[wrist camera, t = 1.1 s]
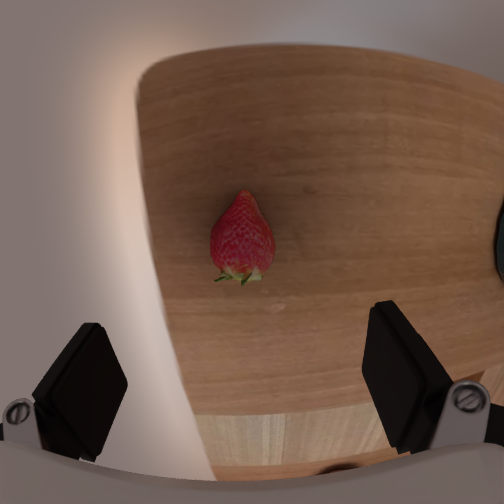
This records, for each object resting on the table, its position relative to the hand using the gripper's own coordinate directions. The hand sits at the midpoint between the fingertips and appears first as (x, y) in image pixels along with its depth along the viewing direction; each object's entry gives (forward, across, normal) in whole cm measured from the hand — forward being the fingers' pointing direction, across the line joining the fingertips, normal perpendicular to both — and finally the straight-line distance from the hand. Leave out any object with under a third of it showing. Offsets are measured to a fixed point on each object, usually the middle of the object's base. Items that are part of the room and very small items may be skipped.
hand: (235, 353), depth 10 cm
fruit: (+13, 0, -1) cm, 13 cm away
